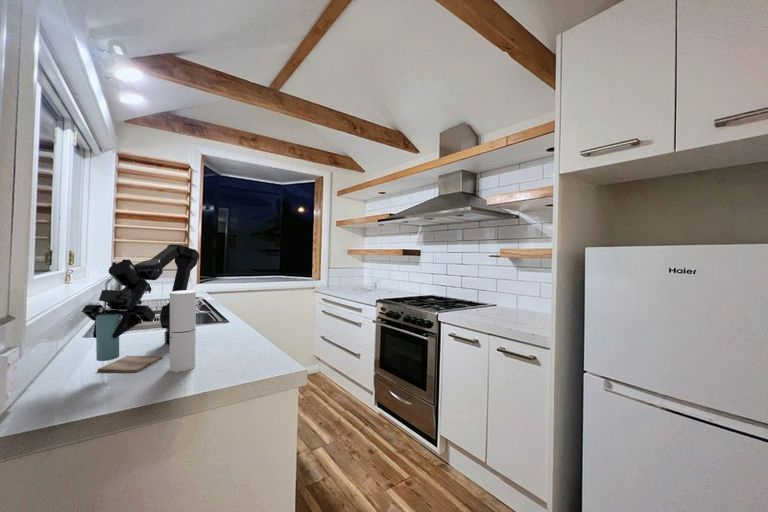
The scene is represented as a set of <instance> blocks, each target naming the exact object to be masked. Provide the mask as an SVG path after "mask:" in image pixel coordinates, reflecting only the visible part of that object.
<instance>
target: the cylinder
mask: <svg viewBox="0 0 768 512" xmlns="http://www.w3.org/2000/svg"><path fill="white" fill-rule="evenodd" d="M119 324H120V316H119V314H118V313H109V314H101V315H97V316H96V338H95V340H96V341H95V343H96V344H95V347H96V348H95V349H96V350H95V351H96V352H95V353H96V354H95V356H96V361H98V362H107V361H112V360H115V359H118V358H120V336H118V337H117V338H113V337H112V336H113V334H114V332H115V330H116V329H117V327H118V325H119Z"/></svg>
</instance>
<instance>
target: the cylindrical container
mask: <svg viewBox="0 0 768 512" xmlns="http://www.w3.org/2000/svg"><path fill="white" fill-rule="evenodd" d="M196 294H197V291H196V290H193V289H192V290H190V289H189V290H183V291H173V292H172V291H170V292H169V302H170V345H169V371H170V372H171V371H173V373H180V371H183V372H187V371H186V370H188V371H190V370H189V369H191V370H192V368H193V369H195V367H196V337H197V335H196V332H197V330H196V328H197V327H196V319H197V318H196V315H197V314H196V311H197V310H196V309H197V307H196V305H197V304H196V297H197V295H196Z"/></svg>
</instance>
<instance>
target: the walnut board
mask: <svg viewBox="0 0 768 512" xmlns="http://www.w3.org/2000/svg"><path fill="white" fill-rule="evenodd" d="M162 359H163V355H126V356H124V357H121V358H120V359H117V360H115V361H113V362H111V363H110V362H109V364H106V365H104V366H102V367H99V368H97V373H138V371H139V372H140V371H143V370H144V369H146V368H148V367H150V366H152V365H153V364H154V362H155V363H157V362H159V361H160V360H162ZM158 360H159V361H158ZM156 361H157V362H156ZM147 366H148V367H147Z"/></svg>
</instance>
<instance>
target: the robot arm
mask: <svg viewBox="0 0 768 512" xmlns="http://www.w3.org/2000/svg"><path fill="white" fill-rule="evenodd" d="M199 259H200V253H199V252H198V251H197V249H195V248H191V247H188V246H185V245H184V244H180V243H179V244H178V243H177V244H176V243H172V244H168V245H167V247H166V248H165V249H163V250H162V251H160V252H159V253H158V254H156V255H154V256H153V257H152V258H150V259H146V260H141V261H140V262H138V263H136V264H133V262H132V261H131V260H130V259H122V260H121V261H120V262H116V263H115V264H113V265H112V266H110V267H109V268H108V273H109V275H110V276H111V277H112V278H113V279H114V280H115V281H116V282H117V283H118V284H119V285H120V286H122V287H124V288H122V289H121V290H117V289H102V290H101V293H100V296H99V299H98V301H99V302H105V303H106V306H107V307H109V308H105V307H104V306H103V305H102V304H85V305H84V307H83V308H82V310H81V312H82V313H83V314H84V315H86V317H87V318H89V319H90V320H91V321H93V322H94V329H93V333H92V337H93V339H96V316H97V315H101V314H109V313H118V314H119V317H121V321H119V325H118V327H117V329H116V330H115V332H114V334H113V336H112V337H113V338H117V337H118V336H119V337H120V336H121V335H123V334H124V333H126V332H128V331H129V330H130V329H132V328H134V327H135V326H137V325H138V324H139V325H140V324H142V323H143V322H146V323H149V322H150V323H152V322H153V321H154V319H155V318H156V313H155V312H154V311H153V310H152V308H151V307H150V306H149V305H142V303H143V301H142V300H141V299H142V298H143V296H144V295H145V293H146V292H152V290H153V289H152V287H151V283H148V282H147V281H156V280H158V279H159V278H160V276H162V274H163V270H164V268H165V267H166V266H168V264H170V263H171V262H173V260H174V263H175V266H176V267H177V269H176V272H175V278H174V281H173V286H172V290H171V292H173V291H183V290H187V289H188V285H189V281H190V275H191V273H192V270H193V269H194V268H195V267H196V266H197V264H198V261H199ZM159 322H160V325H161V329H166V330H165V332H164V343H165V344H167V345H168V346H170V301H169V302H168V303H167V304H166V305H163V306H162V307H161V312H160V314H159Z"/></svg>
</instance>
